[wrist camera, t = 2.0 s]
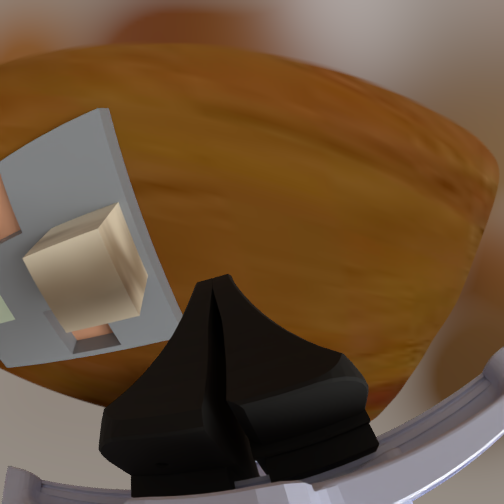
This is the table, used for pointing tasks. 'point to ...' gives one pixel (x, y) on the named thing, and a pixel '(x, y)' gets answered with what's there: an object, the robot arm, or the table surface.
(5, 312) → the board
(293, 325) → the table surface
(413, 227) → the table surface
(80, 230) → the beech block
